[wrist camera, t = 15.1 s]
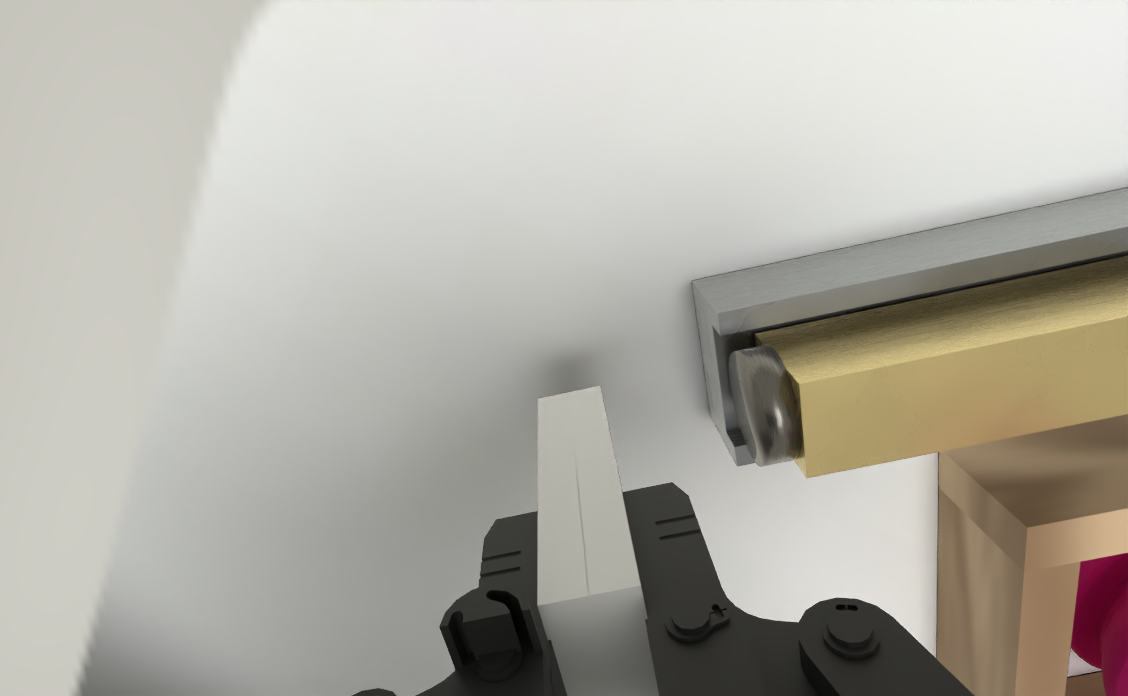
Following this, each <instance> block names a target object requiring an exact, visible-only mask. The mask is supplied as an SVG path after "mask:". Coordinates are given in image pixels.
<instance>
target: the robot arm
mask: <svg viewBox="0 0 1128 696" xmlns="http://www.w3.org/2000/svg"><path fill="white" fill-rule="evenodd" d="M480 577H481V578H480V579H479V588H477V589H474V590H471V591H470V592H468V593H467V594H465V595H464V596H462V597H460V598H459V599H457V600H456V601H455V602H454V603H453V605H452V606H451V607H450V608H449V609H448V610H447V611H446V613H445V615H444V617H443V619H442V622H441V624H440V630H441V632H442V635H443V638H444V640H445V643H446V645H447V648H448V651H449V653H450V656H451V659H452V661H453V664H454V666H455V672H453V673H452V674H451V675H450V676H449V677H447V678H446V679H445V680H444V681H442V682H441V683H439V684H437V685H436V686H434V687H432V688H431V689H429V690H426V691H424V692H422V693H420V694H418V695H416V696H975V695H974V694H972V693H971V692H970V691H969V690H968V689H967V688H966V687H965V686H964V685H963V684H962V683H961V682H960V681H959V680H958V679H957V678H956V677H955V676H954V675H953V674H952V673H951V672H949V671H948V670H947V669H946V668H945V667H944V666H943V665H942V664H941V663H940V662H939V661H938V660H937V659H936V658H935V657H934V656H933V655H932V654H931V653H930V652H929V651H928V650H927V649H925V648H924V647H923V646H922V645H921V644H920V643H919V642H918V641H917V640H916V639H915V638H914V637H913V636H912V635H911V634H910V633H909V632H908V631H907V630H906V629H905V628H904V627H903V626H901V625H900V624H899V623H898V622H897V621H896V620H895V619H894V618H893V617H892V616H890V615H889V614H888V613H886V612H885V611H883V610H882V609H880V608H879V607H877V606H876V605H873V604H870V603H867V602H864V601H861V600H858V599H849V598H833V599H829V600H825V601H820V602H818V603H816V604H815V605H813V606H812V607H810V608H809V609H807V610H806V611H805V613H804V614H803V616H802V618H801V619H800V621H799V623H797V622H785V621H774V620H768V619H762V618H758V617H755V616H753V615H750V614H747V613H745V612H744V611H742V610H741V609H739V608H738V607H736V606H735V605H734V604H733V603H732V602H731V601H730V600H729V599H728V598H727V597H726V595H725V593H724V591H723V589H722V587H721V584H720V582H719V579H718V576H717V573H716V571H715V568H714V565H713V562H712V560H711V557H710V554H709V551H708V549H707V546H706V543H705V540H704V538H703V535H702V533H701V530H700V526H699V524H698V521H697V518H696V516H695V513H694V510H693V507H692V504H691V502H690V499H689V496H688V495H687V494H686V493H684V492H683V491H682V490H681V489H680V488H678V487H677V486H676V485H675V484H674V483H672V482H671V483H666V484H661V485H656V486H651V487H646V488H641V489H636V490H631V491H626V492H623V490H622V486H621V481H620V476H619V472H618V467H617V462H616V458H615V453H614V448H613V444H612V439H611V434H610V430H609V425H608V420H607V416H606V411H605V407H604V402H603V397H602V393H601V388H600V386H596V387H591V388H586V389H582V390H577V391H572V392H567V393H563V394H558V395H553V396H548V397H543V398H539V399H538V511H536V512H531V513H527V514H522V515H517V516H512V517H507V518H502V519H497V520H496V521H495V523H494V524H493V526H492V527H491V529H490V531H489V532H488V534H487V535H486V537H485V538H484V545H483V554H482V562H481V571H480ZM352 696H396V695H395V694H394V693H393V692H392V691H388V690H384V689H380V688H377V689H371V690H364V691H361V692H359V693H356V694H354V695H352Z"/></svg>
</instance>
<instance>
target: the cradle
mask: <svg viewBox="0 0 1128 696" xmlns="http://www.w3.org/2000/svg"><path fill="white" fill-rule="evenodd" d="M1123 553H1128V414H1126V415H1121V416H1116V417H1111V418H1106V419H1101V420H1096V421H1091V422H1086V423H1081V424H1076V425H1071V426H1066V427H1061V428H1056V429H1051V430H1046V431H1041V432H1036V433H1031V434H1026V435H1021V436H1016V437H1011V438H1006V439H1001V440H996V441H991V442H986V443H981V444H976V445H971V446H966V447H961V448H956V449H951V450H946V451H941V452H939V509H938V598H937V660H938V661H939V662H940V663H941V664H942V665H943V666H944V667H945V668H946V669H947V670H948V671H949V672H951V673H952V674H953V675H954V676H955V677H956V678H957V679H958V680H959V681H960V682H961V683H962V684H963V685H964V686H965V687H966V688H967V689H968V690H969V691H970V692H971V693H972V694H974V695H975V696H1106V693H1105V689H1104V684H1103V677H1102V672H1098V673H1092V674H1087V675H1081V676H1076V677H1070V678H1067V673H1068V664H1069V656H1070V647H1071V638H1072V630H1073V621H1074V613H1075V604H1076V595H1077V587H1078V578H1079V570H1080V562H1081V561H1086V560H1092V559H1097V558H1102V557H1107V556H1113V555H1118V554H1123Z"/></svg>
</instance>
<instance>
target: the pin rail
mask: <svg viewBox="0 0 1128 696" xmlns="http://www.w3.org/2000/svg"><path fill="white" fill-rule="evenodd" d="M1124 256H1128V188H1124V189H1119V190H1114V191H1110V192H1105V193H1100V194H1096V195H1091V196H1086V197H1082V198H1077V199H1072V200H1068V201H1063V202H1058V203H1054V204H1049V205H1044V206H1039V207H1035V208H1030V209H1025V210H1021V211H1016V212H1011V213H1007V214H1002V215H997V216H993V217H988V218H983V219H979V220H974V221H969V222H965V223H960V224H955V225H951V226H946V227H941V228H936V229H932V230H927V231H922V232H918V233H913V234H908V235H904V236H899V237H894V238H890V239H885V240H880V241H876V242H871V243H866V244H862V245H857V246H852V247H848V248H843V249H838V250H833V251H829V252H824V253H819V254H815V255H810V256H805V257H801V258H796V259H791V260H787V261H782V262H777V263H773V264H768V265H763V266H759V267H754V268H749V269H744V270H740V271H735V272H730V273H726V274H721V275H716V276H712V277H707V278H702V279H698V280H693V281H692V287H693V295H694V302H695V309H696V316H697V323H698V330H699V337H700V344H701V351H702V358H703V366H704V373H705V380H706V387H707V394H708V401H709V408H710V415H711V418H712V420H713V422H714V424H715V426H716V428H717V429H718V431H719V433H720V435H721V437H722V439H723V441H724V443H725V445H726V446H727V448H728V450H729V452H730V454H731V456H732V458H733V460H734V462H735V463H736V465H737V466H741V465H746V464H751V463H755V461H754V460H753V458H752V457H751V455H750V453H749V451H748V449H747V446H746V444H745V441H744V439H743V436H742V433H741V430H740V427H739V423H738V420H737V416H736V412H735V408H734V404H733V399H732V393H731V387H730V378H729V359H730V355H731V353H732V352H734V351H738V350H743V349H748V348H753V347H756V340H755V334H756V333H761V332H766V331H771V330H775V329H780V328H785V327H790V326H794V325H799V324H804V323H809V322H814V321H818V320H823V319H828V318H833V317H837V316H842V315H847V314H852V313H856V312H861V311H866V310H871V309H876V308H880V307H885V306H890V305H895V304H899V303H904V302H909V301H914V300H919V299H923V298H928V297H933V296H938V295H942V294H947V293H952V292H957V291H962V290H966V289H971V288H976V287H981V286H985V285H990V284H995V283H1000V282H1005V281H1009V280H1014V279H1019V278H1024V277H1028V276H1033V275H1038V274H1043V273H1047V272H1052V271H1057V270H1062V269H1067V268H1071V267H1076V266H1081V265H1086V264H1090V263H1095V262H1100V261H1105V260H1110V259H1114V258H1119V257H1124Z"/></svg>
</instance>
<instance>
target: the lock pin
mask: <svg viewBox="0 0 1128 696" xmlns="http://www.w3.org/2000/svg"><path fill="white" fill-rule="evenodd" d="M755 340H756V347H753V348H748V349H743V350H738V351H734V352H732V353H731V355H730V359H729V378H730V387H731V393H732V399H733V404H734V408H735V412H736V416H737V420H738V423H739V427H740V430H741V433H742V436H743V439H744V441H745V444H746V446H747V449H748V451H749V453H750V455H751V457H752V458H753V460H754V461H755V463H756V464H757V465H758V466H766V465H771V464H776V463H781V462H786V461H791V460H795V462H796V463H797V465H798V466H799V468H800V469H801V471H802V472H803V473H804V475H805V476H806V478H810V477H815V476H820V475H825V474H830V473H835V472H840V471H845V470H850V469H856V468H861V467H866V466H871V465H876V464H881V463H886V462H891V461H896V460H901V459H906V458H911V457H916V456H921V455H926V454H931V453H936V452H941V451H946V450H951V449H956V448H961V447H966V446H971V445H976V444H981V443H986V442H991V441H996V440H1001V439H1006V438H1011V437H1016V436H1021V435H1026V434H1031V433H1036V432H1041V431H1046V430H1051V429H1056V428H1061V427H1066V426H1071V425H1076V424H1081V423H1086V422H1091V421H1096V420H1101V419H1106V418H1111V417H1116V416H1121V415H1126V414H1128V256H1124V257H1119V258H1114V259H1110V260H1105V261H1100V262H1095V263H1090V264H1086V265H1081V266H1076V267H1071V268H1067V269H1062V270H1057V271H1052V272H1047V273H1043V274H1038V275H1033V276H1028V277H1024V278H1019V279H1014V280H1009V281H1005V282H1000V283H995V284H990V285H985V286H981V287H976V288H971V289H966V290H962V291H957V292H952V293H947V294H942V295H938V296H933V297H928V298H923V299H919V300H914V301H909V302H904V303H899V304H895V305H890V306H885V307H880V308H876V309H871V310H866V311H861V312H856V313H852V314H847V315H842V316H837V317H833V318H828V319H823V320H818V321H814V322H809V323H804V324H799V325H794V326H790V327H785V328H780V329H775V330H771V331H766V332H761V333H756V334H755Z"/></svg>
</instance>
